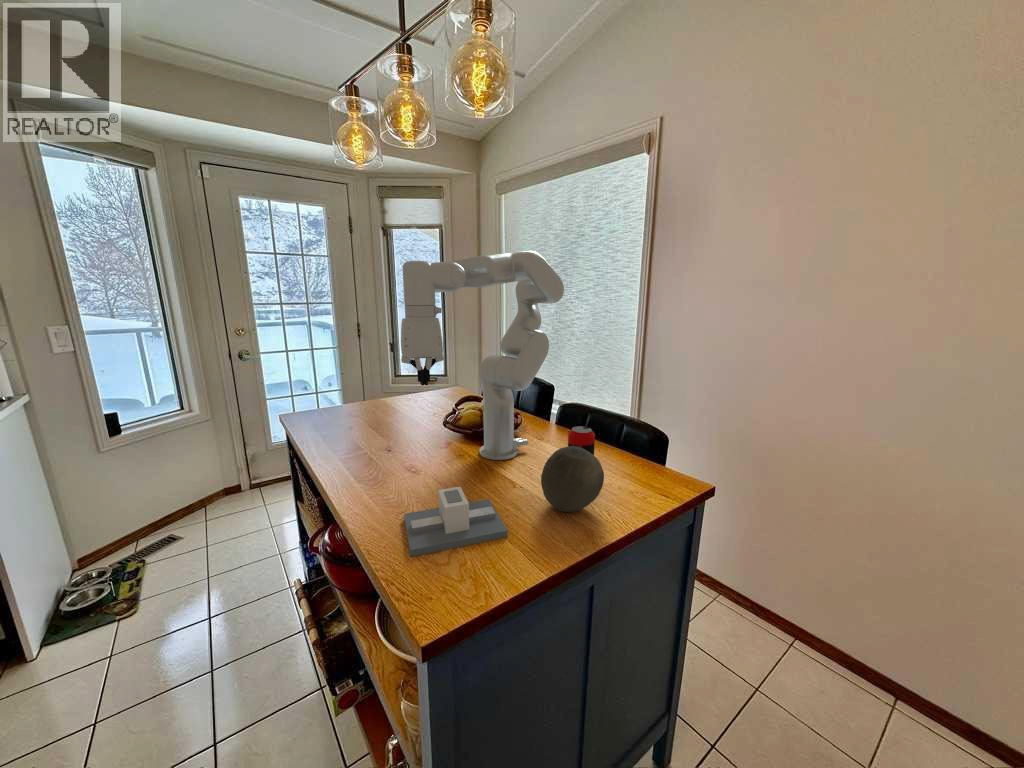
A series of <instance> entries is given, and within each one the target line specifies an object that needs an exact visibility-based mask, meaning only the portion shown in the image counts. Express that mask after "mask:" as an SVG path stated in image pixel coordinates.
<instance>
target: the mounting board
mask: <svg viewBox="0 0 1024 768" xmlns="http://www.w3.org/2000/svg"><path fill="white" fill-rule="evenodd" d="M468 503H469V510H474V509H479V508H485V507H490V506H492V508H493V510H494V511H495V518H492V519H487V520H481V521H476V522H471V523H469V530H464V531H459V532H454V533H449V534H446V533H445V530H444V528H439V529H434V530H429V531H424V532H418V533H412V528H411V521H413V520H418V519H424V518H429V517H435V516H440V515H439V507H435V508H429V509H424V510H417V511H412V512H406V513H403V514H404V515H403V518H404V524H405V531H406V537H407V543H408V544H407V545H408V549H409V556H410V557H411V558H413V557H417V556H422V555H426V554H432V553H436V552H441V551H446V550H450V549H455V548H460V547H461V548H462V547H465V546H470V545H475V544H478V543H479V544H480V543H484V542H490V541H494V539H495V540H498V539H499V538H500V539H504V538H508V535H509V533H508V528H507V527H506V525H505V523H504V522H503V520H502V519H501V517H500V515H499V514H498V512H497V509H495V506H494V505H493V503H492V502H491V500H490V499H489V498H486V499H481V500H475V501H470V502H469V501H468Z"/></svg>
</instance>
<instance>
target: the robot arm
mask: <svg viewBox="0 0 1024 768" xmlns="http://www.w3.org/2000/svg"><path fill="white" fill-rule="evenodd" d="M510 283H516V285H515V298H516V302H517V313H516V315H515V317H514V319H513V321H512V322H511V324H510V326H509V327H508V328H507V330H506V332H505V333H504V335H503V337H502V338H501V342H500V346H499V347H500V351H501V353H502V354H503V355H502V354H501V355H500V354H492V355H491V354H490V355H488V356H486V357H485V358H484V359H483V360H482V361H481V362H480V366H479V379H480V383H481V387H482V388H481V389H482V396H483V397H482V399H483V445H482V446H481V447H479V456H481V457H482V458H484V459H487V460H492V461H504V460H510V459H513V458H515V457H516V456H518V455H519V452H520V451H519V447H521V446H522V447H525V446H529V440H528V439H523V438H522V437H517V438H515V434H514V433H515V428H514V427H515V424H514V422H515V421H514V419H515V413H514V411H515V410H514V409H515V407H514V406H515V399H514V394H513V391H516V392H518V391H519V392H521V391H525V390H526V389H527V388H528V387H530V385H531V384H532V383H533V381H534V379H535V378H536V377H537V374H538V373H539V370H540V369H541V367H542V365H544V364H543V363H544V362H545V360H546V359H547V356H548V355H549V354H548V353H549V351H550V340H549V336H548V335H547V334H546V333H545V332H544V331H542V330H540V327H541V325H542V315H541V312H540V309H539V305H538V304H549V305H551V304H556V303H558V302H559V301H560V300H561V299H562V298H563V296H564V294H565V286H564V282H563V281H562V279H561V277H560V275H559V274H558V273H557V272H556V271H555V269H553V267H552V266H551V265H550V263H549V262H548V261H547V260H546V259H545V258H544V257H543V256H542V255H541V254H540V253H538V252H536V251H533V250H526V251H525V250H524V251H516V252H514V251H513V252H505V253H495V254H486V255H478V256H476V255H475V256H471V257H467V258H462V259H455V260H447V261H438V262H430V261H426V260H409V261H405V262H404V263H403V265H402V285H403V300H404V302H403V303H404V318H402V319H401V324H400V343H401V344H400V347H401V359H400V360H401V363H403V364H406V365H407V364H408V365H411V366H412V367H413V368H415V369H416V370H417V371H416V372H417V382H418V383H420V385H421V387H422V386H428V385H429V382H431V373H430V372H431V371H430V370H431V369H432V367H433V366H435V364H436V363H440V362H443V361H445V357H444V354H443V353H444V343H443V337H442V335H443V333H442V329H441V323H440V318H439V317H437V315H438V314H442V307H438V306H437V305H436V293H453V292H457V291H459V290H461V289H462V288H485V287H486V288H487V287H491V286H497V285H502V284H503V285H504V284H510ZM421 359H425V360H424V366H422V364H421V363H422V362H421Z"/></svg>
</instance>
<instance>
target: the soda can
mask: <svg viewBox="0 0 1024 768" xmlns="http://www.w3.org/2000/svg"><path fill="white" fill-rule="evenodd" d="M595 442H596V434H595V433H594V431H593V429H592V428H590V427H587V426H580V425H579V426H573V427H572V428H571V429H570V430H569V431H568V433H567V447H568V446H576V447H581V448H583V449H585V450H587V451H588V452H590V453H591V454H593V455H594V456H595Z"/></svg>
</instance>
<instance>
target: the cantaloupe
mask: <svg viewBox="0 0 1024 768" xmlns="http://www.w3.org/2000/svg"><path fill="white" fill-rule="evenodd" d="M604 481H605V473H604V469H603V466H602V464H601V462H600V460H599V459H598V458H597V457H596V456H595V454H594V455H593V454H591V453H590V452H588V451H587V450H585V449H583V448H581V447H576V446H568V445H567V446H564V447H561V448H559V449H557V450H555V451H554V452H553V453H552V454H551V455H550V456H549V458H547V460H546V461H545V464H544V466H543V468H542V472H541V477H540V484H541V488H542V492H543V496H544V498H545V499H546V501H547V502H548V504H550V505H551V506H552V507H553V508H554V509H556V510H558V511H561V512H565V513H566V512H567V513H569V512H570V513H572V512H577V511H580V510H583V509H585V508H586V507H588V506H590V504H592V503H593V502H594V501H595V500H596V499H597V497H598V496H599V494H600V493H601V490H602V488H603V484H604Z"/></svg>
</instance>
